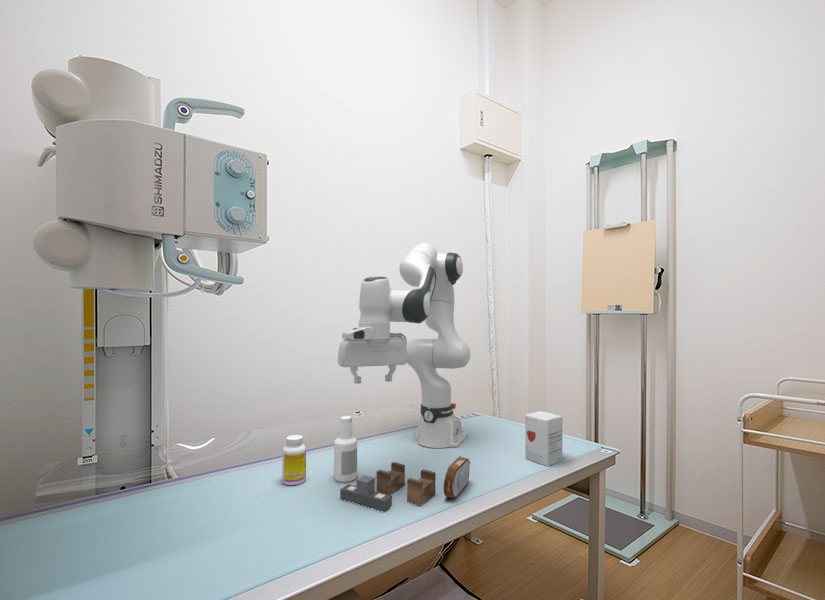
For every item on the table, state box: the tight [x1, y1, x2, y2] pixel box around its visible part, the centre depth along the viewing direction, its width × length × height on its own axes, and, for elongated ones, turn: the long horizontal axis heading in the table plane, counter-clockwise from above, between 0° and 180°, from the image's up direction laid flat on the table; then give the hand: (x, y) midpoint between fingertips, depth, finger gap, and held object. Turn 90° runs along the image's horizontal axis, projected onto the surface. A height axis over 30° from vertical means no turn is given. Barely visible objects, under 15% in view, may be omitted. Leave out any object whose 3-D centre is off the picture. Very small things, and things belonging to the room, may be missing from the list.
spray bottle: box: [333, 415, 358, 483], centre depth 123 cm, size 7×7×18 cm
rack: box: [376, 461, 437, 507], centre depth 112 cm, size 8×14×6 cm, turn 57°
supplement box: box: [524, 410, 563, 467], centre depth 137 cm, size 9×9×15 cm
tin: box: [443, 456, 471, 499], centre depth 114 cm, size 15×3×8 cm, turn 154°
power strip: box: [339, 474, 393, 513], centre depth 107 cm, size 4×14×6 cm, turn 61°
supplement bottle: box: [281, 434, 307, 486], centre depth 120 cm, size 7×7×13 cm
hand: (373, 382), depth 115 cm, fingers open, 8 cm apart
